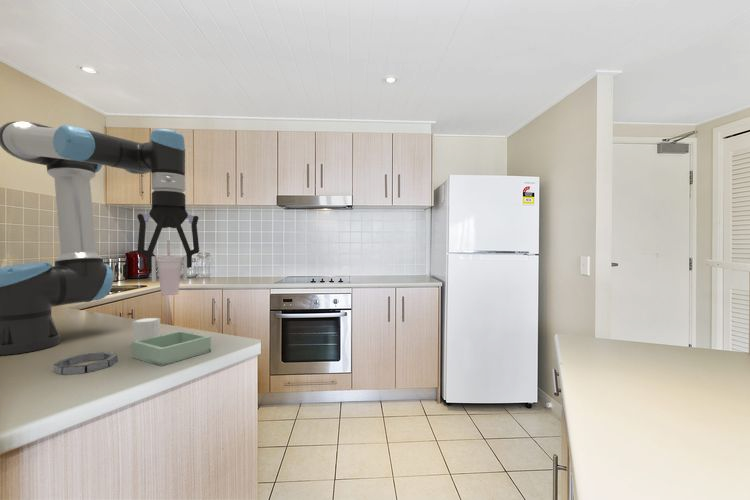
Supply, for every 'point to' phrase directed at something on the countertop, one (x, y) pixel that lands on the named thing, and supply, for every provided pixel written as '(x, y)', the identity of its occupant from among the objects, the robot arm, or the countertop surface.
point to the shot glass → (146, 328)
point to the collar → (65, 369)
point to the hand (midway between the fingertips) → (169, 281)
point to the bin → (170, 347)
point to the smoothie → (169, 272)
